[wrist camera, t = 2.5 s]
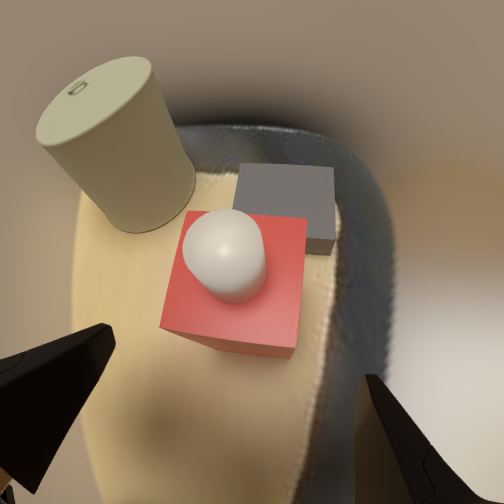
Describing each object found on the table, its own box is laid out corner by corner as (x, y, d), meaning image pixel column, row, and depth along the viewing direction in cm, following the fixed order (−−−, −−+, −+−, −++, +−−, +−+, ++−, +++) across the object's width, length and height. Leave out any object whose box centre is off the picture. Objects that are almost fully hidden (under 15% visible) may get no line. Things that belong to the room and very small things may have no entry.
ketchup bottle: (289, 358, 18) (299, 340, 7) (215, 349, 19) (126, 313, 8) (297, 287, 20) (311, 180, 9) (227, 280, 21) (167, 174, 10)
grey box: (329, 257, 21) (335, 239, 18) (235, 250, 22) (228, 232, 19) (328, 190, 23) (333, 167, 21) (245, 185, 24) (240, 163, 22)
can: (155, 140, 28) (110, 47, 17) (217, 175, 25) (179, 56, 14) (91, 202, 25) (20, 122, 14) (143, 253, 22) (52, 160, 11)
